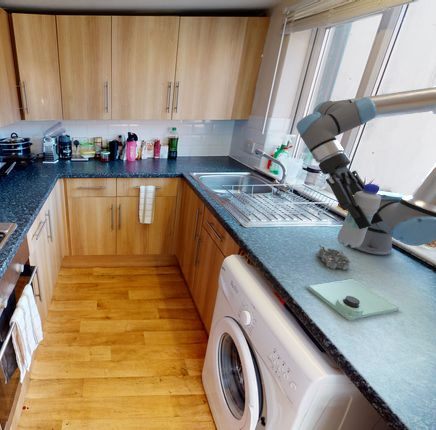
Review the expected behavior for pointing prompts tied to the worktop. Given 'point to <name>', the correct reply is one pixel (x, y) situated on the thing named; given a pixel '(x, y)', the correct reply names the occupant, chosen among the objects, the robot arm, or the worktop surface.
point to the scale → (340, 289)
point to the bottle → (369, 207)
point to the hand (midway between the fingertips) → (371, 224)
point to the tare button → (351, 301)
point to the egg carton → (334, 258)
